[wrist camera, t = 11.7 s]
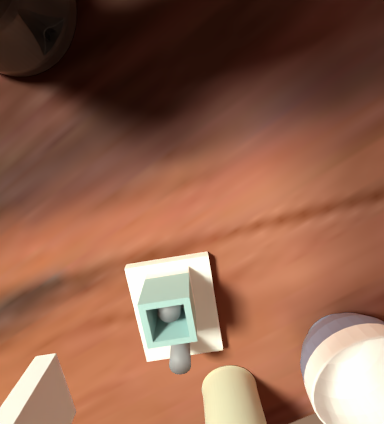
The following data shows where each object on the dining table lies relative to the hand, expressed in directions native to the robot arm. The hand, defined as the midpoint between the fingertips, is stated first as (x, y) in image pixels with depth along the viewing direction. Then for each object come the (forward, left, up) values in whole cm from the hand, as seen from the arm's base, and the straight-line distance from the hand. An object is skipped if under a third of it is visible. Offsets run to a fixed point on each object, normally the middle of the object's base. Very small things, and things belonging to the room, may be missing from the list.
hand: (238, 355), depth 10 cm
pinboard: (+16, -6, -29) cm, 33 cm away
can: (+33, 0, -29) cm, 44 cm away
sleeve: (+12, -6, -27) cm, 30 cm away
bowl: (+26, +18, -29) cm, 43 cm away
